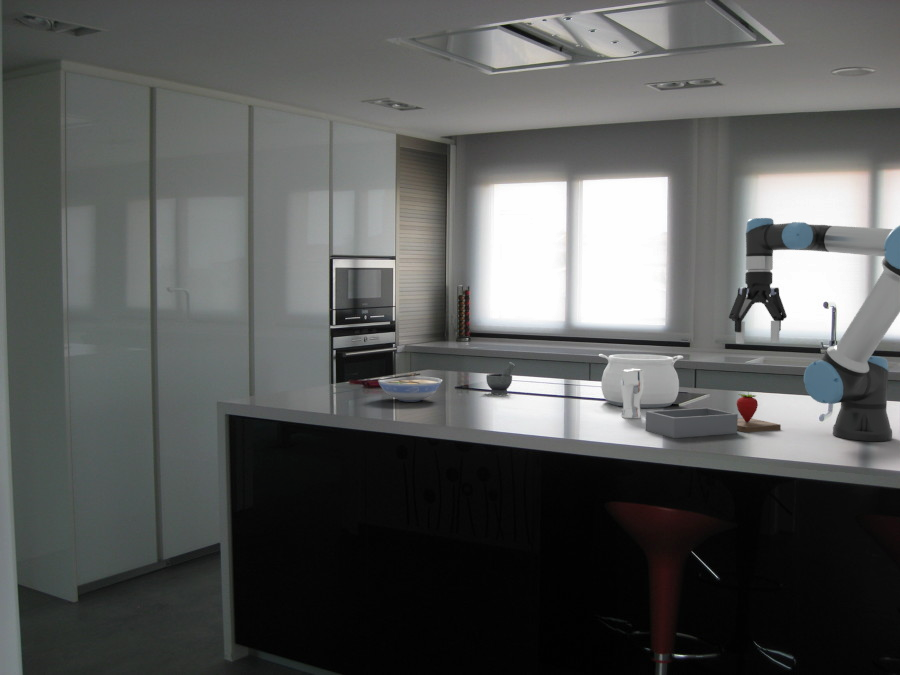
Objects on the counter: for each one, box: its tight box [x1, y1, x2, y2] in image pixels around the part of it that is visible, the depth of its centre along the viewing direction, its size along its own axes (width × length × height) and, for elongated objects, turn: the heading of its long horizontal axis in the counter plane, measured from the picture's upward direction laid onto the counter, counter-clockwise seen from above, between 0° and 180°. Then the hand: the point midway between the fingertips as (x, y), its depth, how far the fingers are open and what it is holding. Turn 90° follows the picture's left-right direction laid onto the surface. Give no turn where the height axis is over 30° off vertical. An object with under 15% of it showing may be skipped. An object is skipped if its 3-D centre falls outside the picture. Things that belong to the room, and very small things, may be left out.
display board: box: [737, 417, 782, 433], centre depth 263 cm, size 14×13×2 cm
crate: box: [645, 407, 739, 439], centre depth 254 cm, size 13×22×6 cm, turn 113°
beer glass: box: [621, 369, 643, 420], centre depth 279 cm, size 7×7×15 cm
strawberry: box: [736, 391, 759, 422], centre depth 262 cm, size 6×8×10 cm
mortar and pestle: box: [485, 361, 516, 395], centre depth 332 cm, size 11×9×12 cm
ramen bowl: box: [371, 372, 443, 403], centre depth 310 cm, size 25×23×8 cm
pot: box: [598, 353, 684, 409], centre depth 308 cm, size 29×26×17 cm
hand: (757, 343), depth 262 cm, fingers open, 13 cm apart
